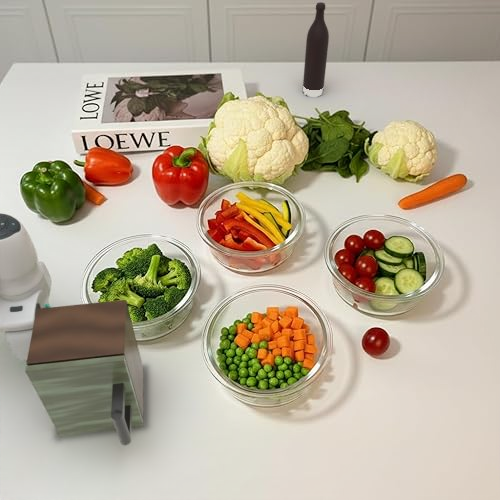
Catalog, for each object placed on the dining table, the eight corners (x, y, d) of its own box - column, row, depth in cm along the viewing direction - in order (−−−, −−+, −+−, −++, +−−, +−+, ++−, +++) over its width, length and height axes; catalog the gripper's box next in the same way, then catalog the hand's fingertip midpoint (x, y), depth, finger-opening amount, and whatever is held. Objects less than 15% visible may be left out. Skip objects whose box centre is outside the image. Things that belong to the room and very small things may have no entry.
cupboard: (143, 420, 101) (124, 353, 85) (61, 430, 100) (26, 363, 84) (143, 370, 109) (126, 299, 93) (67, 378, 107) (36, 308, 92)
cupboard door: (143, 460, 95) (122, 396, 80) (55, 471, 94) (18, 409, 79) (143, 421, 101) (124, 355, 85) (60, 431, 99) (26, 365, 84)
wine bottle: (325, 90, 188) (335, 1, 167) (319, 100, 183) (328, 9, 162) (306, 86, 190) (313, -2, 169) (299, 96, 185) (306, 6, 164)
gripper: (15, 250, 107) (35, 295, 117) (-6, 334, 93) (19, 377, 102) (48, 247, 107) (64, 292, 117) (32, 330, 93) (53, 374, 103)
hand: (43, 333), depth 110 cm, fingers open, 8 cm apart
